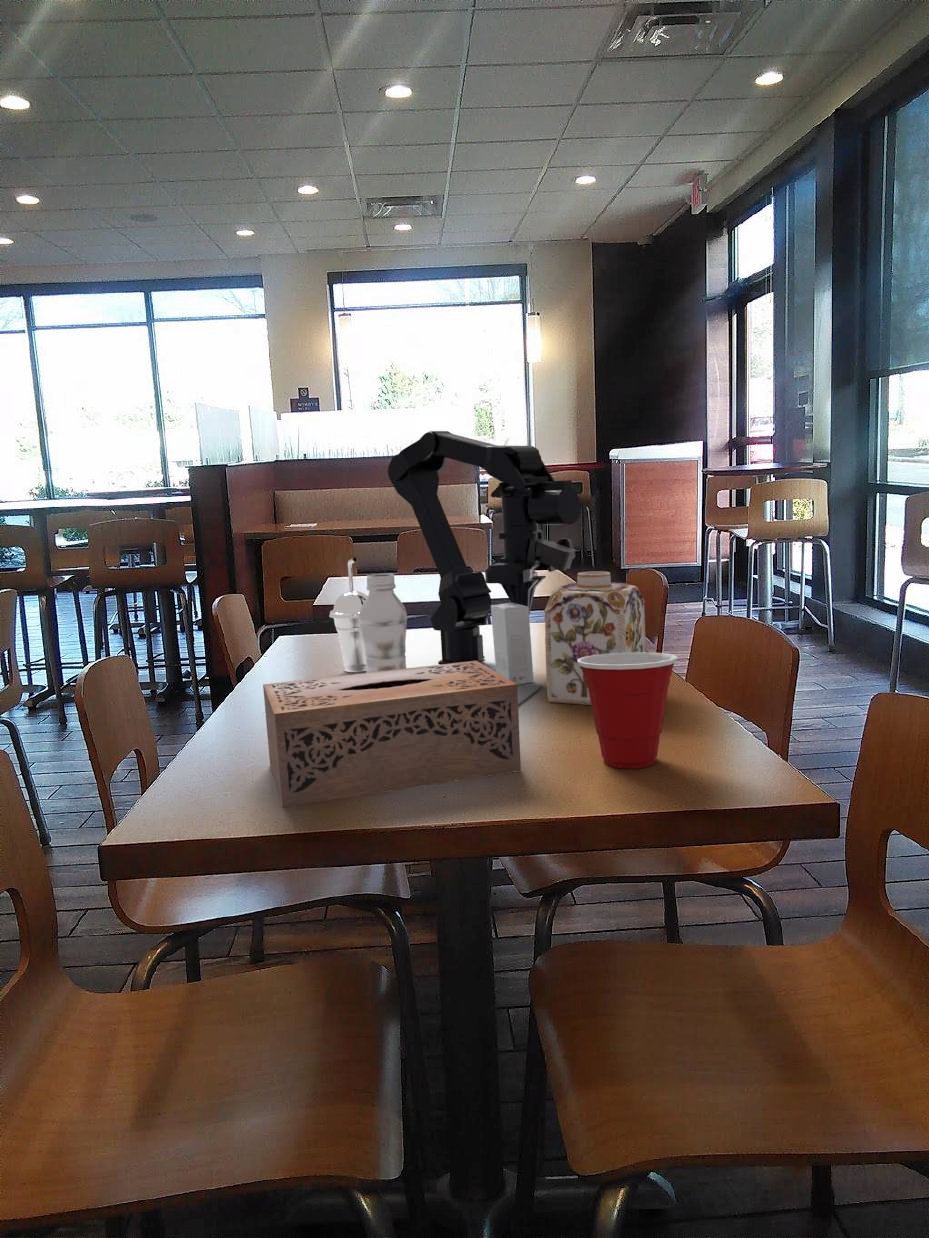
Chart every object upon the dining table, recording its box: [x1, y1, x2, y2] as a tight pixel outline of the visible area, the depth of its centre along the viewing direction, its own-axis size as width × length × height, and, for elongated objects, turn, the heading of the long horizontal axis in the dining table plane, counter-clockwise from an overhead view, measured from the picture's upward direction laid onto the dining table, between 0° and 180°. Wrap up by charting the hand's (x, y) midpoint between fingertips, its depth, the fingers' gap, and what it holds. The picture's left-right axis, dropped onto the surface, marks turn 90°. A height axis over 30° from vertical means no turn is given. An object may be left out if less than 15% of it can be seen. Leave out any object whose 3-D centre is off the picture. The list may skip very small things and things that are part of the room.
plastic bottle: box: [359, 573, 408, 673], centre depth 118 cm, size 6×7×20 cm
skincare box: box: [490, 602, 534, 684], centre depth 140 cm, size 6×4×12 cm
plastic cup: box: [577, 651, 678, 770], centre depth 98 cm, size 11×11×12 cm
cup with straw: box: [328, 557, 368, 673], centre depth 153 cm, size 8×9×20 cm
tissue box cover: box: [262, 661, 522, 808], centre depth 100 cm, size 26×14×10 cm, turn 107°
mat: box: [517, 683, 544, 707], centre depth 131 cm, size 12×14×1 cm
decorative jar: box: [543, 570, 646, 706], centre depth 127 cm, size 12×12×18 cm
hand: (524, 620), depth 145 cm, fingers closed
